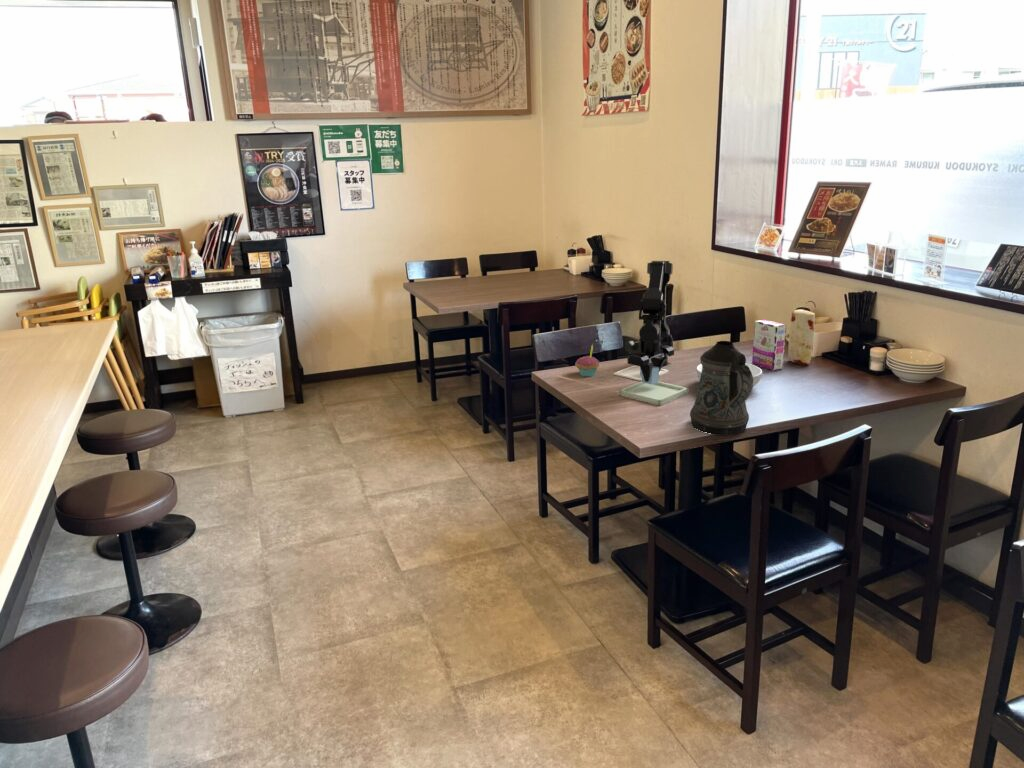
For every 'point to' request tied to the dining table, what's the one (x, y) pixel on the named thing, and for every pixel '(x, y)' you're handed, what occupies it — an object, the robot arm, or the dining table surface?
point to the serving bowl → (754, 369)
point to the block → (653, 376)
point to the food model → (801, 336)
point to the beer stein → (722, 391)
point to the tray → (654, 392)
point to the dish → (635, 373)
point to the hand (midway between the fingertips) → (650, 380)
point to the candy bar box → (769, 344)
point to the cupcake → (587, 364)
